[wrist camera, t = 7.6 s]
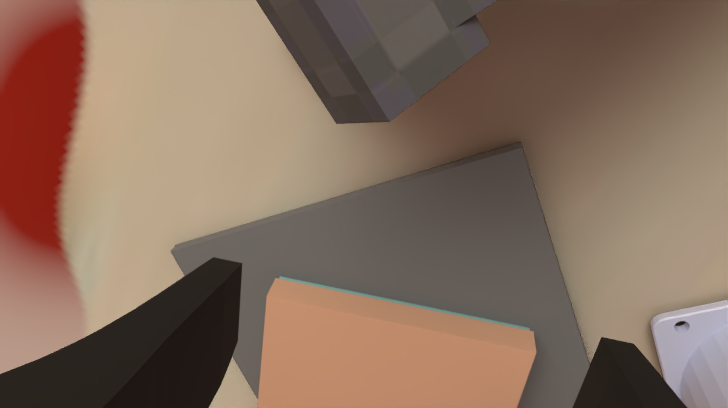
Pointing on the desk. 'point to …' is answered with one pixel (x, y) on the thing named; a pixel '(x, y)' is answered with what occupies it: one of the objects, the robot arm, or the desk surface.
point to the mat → (420, 260)
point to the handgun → (376, 49)
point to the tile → (385, 353)
